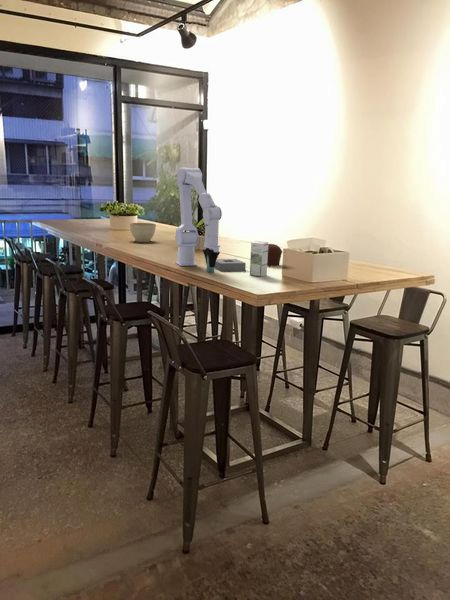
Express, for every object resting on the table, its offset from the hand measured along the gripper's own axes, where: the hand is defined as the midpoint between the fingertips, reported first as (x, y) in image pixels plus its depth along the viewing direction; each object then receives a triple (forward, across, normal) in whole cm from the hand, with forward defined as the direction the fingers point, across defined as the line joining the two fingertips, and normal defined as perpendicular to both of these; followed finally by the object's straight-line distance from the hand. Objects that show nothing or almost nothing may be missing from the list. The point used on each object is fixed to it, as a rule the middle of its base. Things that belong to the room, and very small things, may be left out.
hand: (210, 266), depth 227 cm
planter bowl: (+3, +110, +7) cm, 110 cm away
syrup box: (+3, -11, -18) cm, 21 cm away
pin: (+2, 0, 0) cm, 2 cm away
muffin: (+3, +15, -36) cm, 39 cm away
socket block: (+2, +7, -11) cm, 13 cm away
